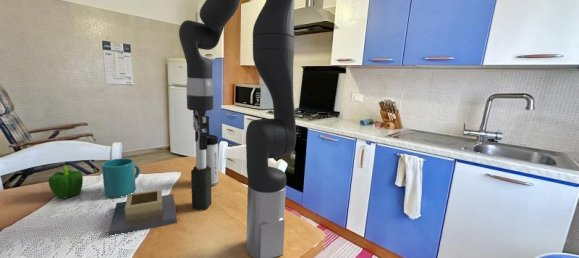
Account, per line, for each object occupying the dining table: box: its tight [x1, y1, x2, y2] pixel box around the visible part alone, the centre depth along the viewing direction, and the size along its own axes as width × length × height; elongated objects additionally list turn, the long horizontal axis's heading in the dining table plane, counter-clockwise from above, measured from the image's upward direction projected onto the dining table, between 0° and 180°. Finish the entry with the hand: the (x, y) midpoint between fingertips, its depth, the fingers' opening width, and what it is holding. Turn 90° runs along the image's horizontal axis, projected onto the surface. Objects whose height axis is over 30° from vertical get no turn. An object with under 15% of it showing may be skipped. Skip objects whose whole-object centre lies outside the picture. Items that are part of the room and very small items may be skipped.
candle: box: [190, 138, 212, 211], centre depth 77 cm, size 5×5×25 cm
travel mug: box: [206, 134, 219, 187], centre depth 95 cm, size 6×7×20 cm
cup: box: [101, 157, 141, 198], centre depth 86 cm, size 9×12×11 cm
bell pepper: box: [48, 164, 84, 199], centre depth 81 cm, size 8×8×10 cm
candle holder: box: [107, 188, 178, 237], centre depth 73 cm, size 16×16×6 cm
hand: (201, 145), depth 76 cm, fingers open, 8 cm apart
